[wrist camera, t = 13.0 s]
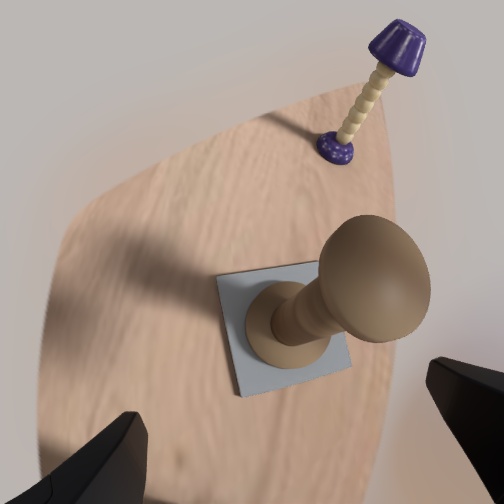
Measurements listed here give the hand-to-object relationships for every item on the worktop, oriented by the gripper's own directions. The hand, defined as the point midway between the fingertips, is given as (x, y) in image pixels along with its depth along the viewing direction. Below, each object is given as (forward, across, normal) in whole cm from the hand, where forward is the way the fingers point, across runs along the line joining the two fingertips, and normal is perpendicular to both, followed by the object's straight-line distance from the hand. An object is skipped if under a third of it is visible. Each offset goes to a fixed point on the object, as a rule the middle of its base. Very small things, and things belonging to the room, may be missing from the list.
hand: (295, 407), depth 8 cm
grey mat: (+14, -2, +4) cm, 15 cm away
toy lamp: (+25, -11, -9) cm, 29 cm away
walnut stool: (+13, -2, +4) cm, 14 cm away
